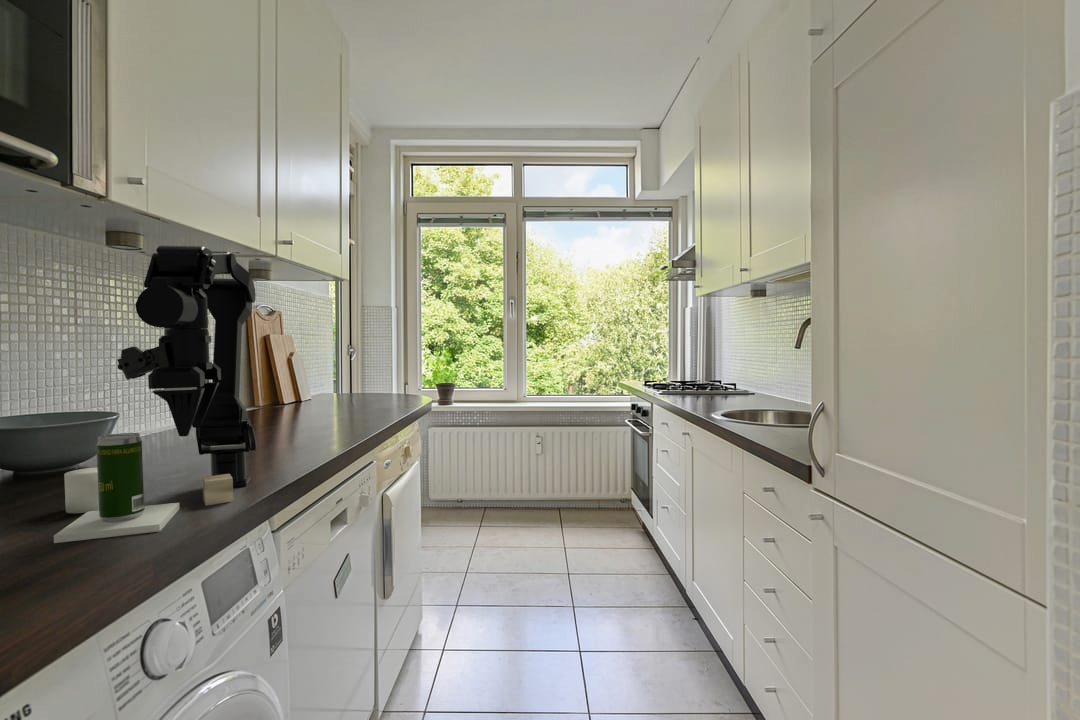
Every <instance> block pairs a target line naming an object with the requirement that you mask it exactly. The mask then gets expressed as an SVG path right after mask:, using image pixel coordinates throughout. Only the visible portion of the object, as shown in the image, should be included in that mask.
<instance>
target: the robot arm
mask: <svg viewBox="0 0 1080 720" xmlns="http://www.w3.org/2000/svg"><path fill="white" fill-rule="evenodd" d="M155 250H156V251H155V252H153V253H152V255H151V258H150V262H149V265H148V268H147V272H146V275H145V279H144V281H143V282H144V283H143V286H144V288H145V289H144V290H143V291H141V292H140V294H139V295H138V296H137V300H136V301H135V311H136V314H137V315H138V317H139V318H140V319H141V321H142V322H144V323H145V324H146V325H148V326H150V327H154V328H161V329H164V330H163V331H164V332H163V334H164V335H161V336H160V337H159V338H158V346H156V347H152V348H150V349H145V350H142V349H140V348H139V347H138V346H130V347H127V348H124V349H121V351H120V352H121V353H120V358H117V362H118V364H117V369H118V370H119V371H122V372H123V375H124V377H125V379H126V380H127V381H129V380H133V379H138V378H141V377H144V376H146V375H147V374H148V375H147V379H148V380H147V382H148V389H149V390H152V391H151V392H152V393H153V394H154V395H157V396H158V397H160V398H161V399H163V400H164V401H165V402H166V404H167V406H168V408H169V411H170V413H171V416H172V418H173V419H172V420H173V422H174V426H175V429H176V431H177V434H178V437H182V438H183V437H188V436H189V434H190V432H191V429H192V428H194V429H195V436H196V441H197V442H196V443H197V448H198V454H199V456H202V455H207V454H209V456H210V476H216V475H224V474H230V475H231V476H232V478H233V488H234V487H235V488H236V487H244V486H245V487H246V486H247V485H248V484H249V482H250V480H251V475H247V467H246V466H247V465H246V464H247V463H246V453H250V452H253V451H256V450H257V447H258V446H257V436H256V432H255V429H254V426H253V425H252V423H251V419H250V418H249V412H248V410H247V409H246V408H245V405H244V404H243V402H242V401H241V399H240V389H241V388H240V387H241V363H242V362H241V361H242V340H243V339H242V335H243V334H242V333H243V325H244V323H245V322H246V321H247V320H248V318H249V317H250V316H251V315H252V312H253V310H252V309H253V304H254V303H255V302H256V297H257V296H256V288H255V285H254V282H253V278H252V274H251V273H250V272H249V271H248V270H247V269H246V268H244V267H243V266H242V265H241V264H239V263H238V262H237V259H236V255H235V254H234V252H232V253H231V252H230V251H217V250H215V251H213V250H211V249H209V248H208V247H207V246H200V245H199V246H198V245H197V246H196V245H195V246H194V245H159V246H157V248H156V249H155ZM216 275H230V276H231V278H216ZM208 311H209V312H208ZM208 313H210V314H211V317H213V319H214V338H213V341H214V342H213V358H212V359H213V361H211V360H210V343H212V335H210V334H209V315H208ZM210 380H211V381H210Z"/></svg>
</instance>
